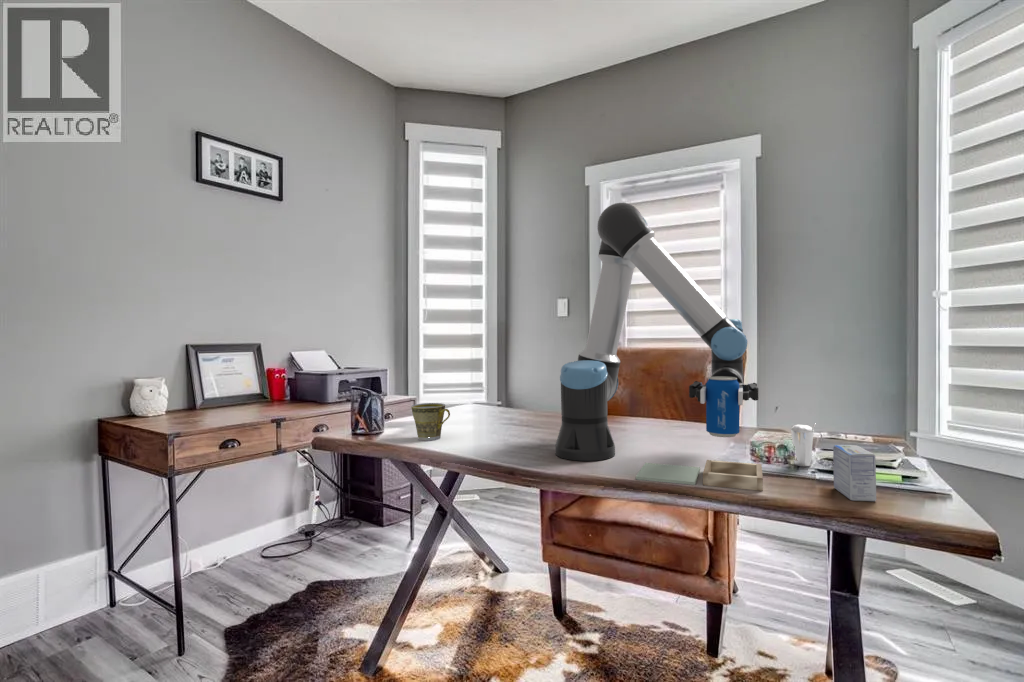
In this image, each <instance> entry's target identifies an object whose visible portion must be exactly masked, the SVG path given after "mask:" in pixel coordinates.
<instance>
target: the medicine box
mask: <svg viewBox="0 0 1024 682" xmlns="http://www.w3.org/2000/svg"><path fill="white" fill-rule="evenodd" d="M832 457H833V458H832V459H833V488H834V489H836V490H837V491H838V492H840V494H842V495H843V496H845V497H846V498H847V499H849V500H850V501H854V502H873V503H874V502H876V501H877V470H876V469H877V467H876V461H877V460H876V459H877V458H876V455H875V453H872V452H871V451H869V450H866V448H863V447H861V446H859V445H856V444H855V445H854V444H837V445H833V455H832Z"/></svg>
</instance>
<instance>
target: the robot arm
mask: <svg viewBox="0 0 1024 682" xmlns="http://www.w3.org/2000/svg"><path fill="white" fill-rule="evenodd" d="M597 220H598V221H597V226H596V227H597V234H598V236H599V238H600V240H601V241H600V246H599V249H598V258H599V259H600V261H601V263H602V264H601V269H600V273H599V279H598V285H597V290H596V295H595V300H594V305H593V309H592V313H591V314H592V315H591V320H590V325H589V328H588V329H589V331H588V335H587V340H586V345H585V348H584V349H583V350H582V351H580V352H579V353H578V356H577V360H574V361H569V362H567V363H565V364H563V365H562V366H561V369H560V375H559V380H560V400H561V401H560V402H561V403H560V405H561V406H560V409H561V410H560V411H561V415H560V416H561V425H560V429H559V432H558V435H557V438H556V441H555V446H554V447H555V449H554V451H555V453H554V454H555V455H556V456H557V457H559V458H562V459H565V460H569V461H570V460H571V461H580V462H581V461H582V462H583V461H584V462H591V461H594V462H595V461H603V460H607V459H610V458H611V459H612V458H613V457H615V456H616V445H615V442H614V439H613V436H612V433H611V430H610V427H609V424H608V421H609V420H608V401H610V400H611V399H612V398H614V396H615V395H616V393H617V390H618V386H619V377H618V376H619V372H620V371H619V370H620V366H621V360H620V358H619V356H618V355H617V353H618V347H619V343H620V338H621V333H622V328H623V324H624V319H625V312H626V309H627V303H628V298H629V295H630V289H631V285H632V280H633V275H634V270H635V268H637V269H638V271H640V272H641V274H642V275H643V276H644V277H645V278H646V279H647V281H648V282H649V283H650V284H651V285H652V286H653V287H654V288H655V289H656V291H658V292H659V293H660V294H661V296H662V297H663V298H664V299H665V300H666V301H667V302H668V303H669V304H670V306H672V308H673V309H675V311H676V312H677V313H678V314H679V315H680V316H681V317H682V319H683V320H685V322H686V323H687V324H688V325H689V326H690V327H691V328H692V329H693V331H694V332H695V333H696V334H697V335H698V336H699V337H700V339H702V341H703V342H704V343H705V344H706V345H707V346H708V347H709V348H710V350H711V351H710V354H711V376H710V377H715V376H725V377H736V378H737V381H738V383H739V391H738V405H739V406H744V405H743V404H744V401H749V400H750V399H751V400H753V401H759V388H758V383H757V382H753V383H747V384H745V383H744V382H745V375H744V359H743V358H744V357H743V356H744V354H745V352H746V351H747V348H748V339H747V336H746V335H745V333H744V329H743V322H742V320H741V319H739V318H735V319H734V318H729V317H728V316H727V315H726V314H725V313H724V312H723V311H722V310H721V308H719V307H718V306H717V304H716V303H715V302H714V301H713V300H712V299H711V298H710V297H709V296H708V295H707V294H706V292H705V291H703V289H702V288H701V287H700V286H699V285H698V284H697V283H696V282H695V281H694V280H693V279H692V277H690V275H689V274H688V273H687V272H686V271H685V270H684V269H683V268H682V267H681V266H680V265H679V264H678V262H676V260H675V259H674V258H673V257H672V256H671V255H670V254H669V253H668V252H667V250H666V249H664V247H663V246H662V245H661V244H660V243H659V242H658V241H657V240H656V239H655V231H654V230H653V229H652V228H651V227H650V226H649V225H648V222H647V220H646V219H645V218H644V217H643V215H642V214H641V211H640V210H639V209H638V208H636V207H635V206H634V205H632V204H630V203H627V202H616V203H612V204H611V205H609V206H607V207H606V208H605V209H603V211H602V212H601V213H600V216H599V218H598V219H597ZM688 395H689V398H691V399H694V398H695V399H696V398H697V402H698V403H699V402H700V404H703V405H704V404H705V403H706V383H705V384H703V382H702V381H698V380H694V381H693V383H692V384H690V385H689V386H688Z"/></svg>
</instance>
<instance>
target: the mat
mask: <svg viewBox="0 0 1024 682" xmlns="http://www.w3.org/2000/svg"><path fill="white" fill-rule="evenodd" d="M700 471H701V466H691V465H681V464H680V465H677V464H669V463H668V464H666V463H665V464H664V463H654V462H644V464H643V466H642V467H641V468H640V469H639V471H638V472H637V474H636V475H635V480H638V481H650V482H660V483H668V484H669V483H671V484H680V485H682V484H683V485H691V486H696V483H697V481H698V477H699V474H700Z"/></svg>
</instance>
